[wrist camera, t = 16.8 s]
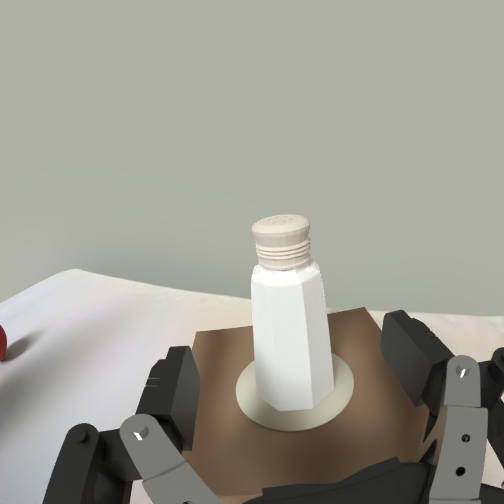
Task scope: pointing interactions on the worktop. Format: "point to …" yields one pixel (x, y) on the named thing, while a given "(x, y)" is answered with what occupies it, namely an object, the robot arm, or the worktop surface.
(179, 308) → the worktop surface
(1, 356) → the onion
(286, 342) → the pepper shaker
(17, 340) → the worktop surface
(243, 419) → the walnut plinth
